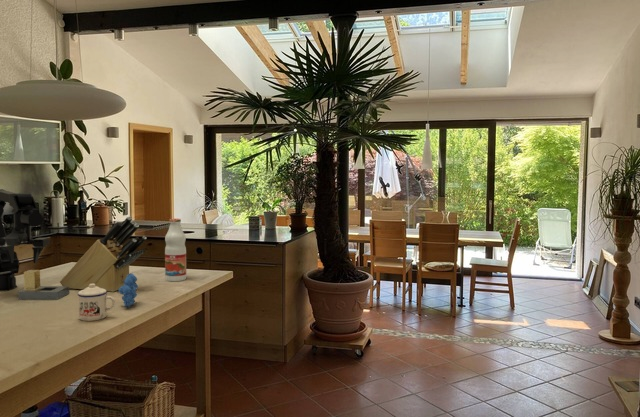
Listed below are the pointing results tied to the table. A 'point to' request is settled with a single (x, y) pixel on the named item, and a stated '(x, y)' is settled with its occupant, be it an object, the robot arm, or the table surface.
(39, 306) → the table surface
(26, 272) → the wooden square beam
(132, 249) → the knife block
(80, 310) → the teacup with lid
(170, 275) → the fruit juice
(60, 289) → the rail plate
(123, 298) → the grapes
